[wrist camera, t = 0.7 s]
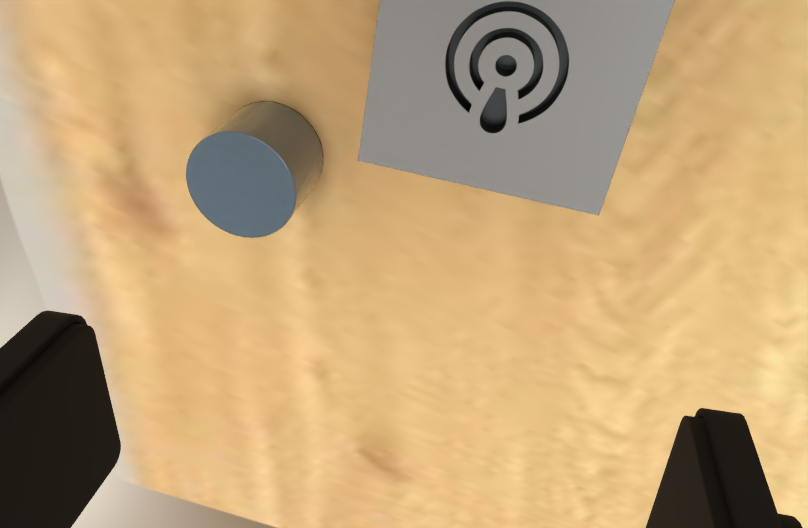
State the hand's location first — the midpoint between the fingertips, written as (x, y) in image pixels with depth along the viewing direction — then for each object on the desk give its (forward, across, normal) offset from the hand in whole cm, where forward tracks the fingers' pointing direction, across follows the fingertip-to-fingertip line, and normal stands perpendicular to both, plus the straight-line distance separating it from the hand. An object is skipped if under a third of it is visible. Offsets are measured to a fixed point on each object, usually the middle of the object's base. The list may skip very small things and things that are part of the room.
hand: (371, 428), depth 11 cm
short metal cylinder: (+28, +12, +8) cm, 31 cm away
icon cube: (+28, -1, -1) cm, 28 cm away
